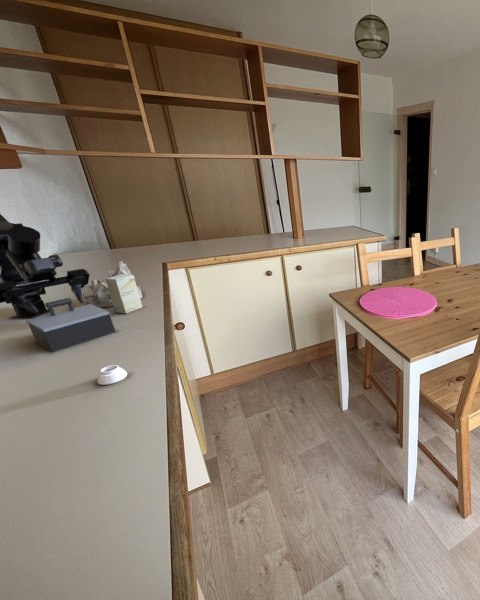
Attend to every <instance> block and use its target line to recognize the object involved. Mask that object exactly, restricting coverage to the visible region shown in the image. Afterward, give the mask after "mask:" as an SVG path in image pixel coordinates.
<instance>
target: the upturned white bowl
mask: <svg viewBox="0 0 480 600" xmlns="http://www.w3.org/2000/svg"><path fill="white" fill-rule="evenodd" d="M127 375H128V372H127V371H126V370H125V369H123V368H122V367H121V366H119V365H116V364H110V365H106V366H105V367H103V368H101V369H100V372H99V374H98V377H97V380H96V381H97V384H98V385H104V386H105V385H112V384H116V383H118V382H120V381H122V380H124V379H125V378H126V377H127Z"/></svg>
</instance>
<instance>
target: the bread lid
mask: <svg viewBox="0 0 480 600" xmlns="http://www.w3.org/2000/svg"><path fill="white" fill-rule="evenodd" d="M44 304H45V307H46V309H49V313H48V314H45V315H39V316H36V317H33V318H27V319H25V322H26V323H27V324H28V325H29V324H30V325H32V326H34V327H36V328H37V329H39V330H41V331H43V332H47V331H50V330H54V329H57V328H61V327H64V326H68V325H72V324H75V323H79V322H82V321H86V320H89V319H93V318H97V317H100V316H104V315H107V314H110V312H109V310H107V309H103V308H102V307H101V308H99V307H96V306H94V305H91V304H88V305H87V304H85V305H81V306H77V307H74V306H73V300H72V298H70V297H67V298H64V299H59V300H54V301H49V302H44ZM66 305H67V306H68V309H65V310H61V311H56V312H55V311H54V308H57V307H58V308H59V307H61V306H66Z"/></svg>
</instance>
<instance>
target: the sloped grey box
mask: <svg viewBox="0 0 480 600" xmlns="http://www.w3.org/2000/svg"><path fill="white" fill-rule="evenodd" d="M28 328H29V329H30V331H31V333H32V336H33V338H34V340H35V342H36V343H37V344H38V345H40V346H42V347H43V348H45V349H46V350H48V351H50V352H52V353H54V352H57V351H61V350H63V349H66V348H70V347H74V346H75V345H76V346H77V345H79V344H82V343H86V342H88V341H92V340H94V339H98V338H101V337H103V336H108V335H110V334H112V333H116V328H115V326H114V324H113V319H112V317H111V314H110V313H109V314H107V315H104V316H100V317H97V318H93V319H89V320H86V321H82V322H79V323H75V324H72V325H68V326H64V327H61V328H57V329H54V330H50V331H47V332H43V331H41V330H39V329H37V328H36V327H34V326H32V325H30V324H28Z"/></svg>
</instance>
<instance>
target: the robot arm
mask: <svg viewBox="0 0 480 600" xmlns="http://www.w3.org/2000/svg"><path fill="white" fill-rule="evenodd" d="M40 251H41V233H40V232H39V231H38V230H37V229H35V228H33V227H31V226H26V225H23V223H13V222H9V220H8V219H6V218H5V217H4V216H3V215H2V214H1V213H0V304H1V303H5V304H7V305H8V304H11V305H12V308H13V310H14V312H15V314H14V315H11V316H10V317H11V318H12V319H32V318H36V317H39V316H42V315H43V314H46V313H48V312H49V309H48V308H47V307H46V305H45V302H44V300H43V299H42V297H41V296H43V295H44V296H45V295H46V293H47V292H46V288H50V287H55V286H60V285H66V284H68V285H69V287H70V290H71V292H72V293H73V295H74V296H75V298H76V299H77V301H78V302H79V303H80V304H84V296H83V290H82V288H83V287H84V286H88V284H89V281H90V273H89V272H88V270H87V269H85V268H77V269H72V270H67V271H66V276H60V277H56V276H57V271H56V269H57V268H60V267H62V266H63V265H64V262H63V260H62V258H61V257H60V255H58V254H52V255H48V257H43V258H42V256H41V255H40V254H39V252H40ZM49 313H50V312H49Z"/></svg>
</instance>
